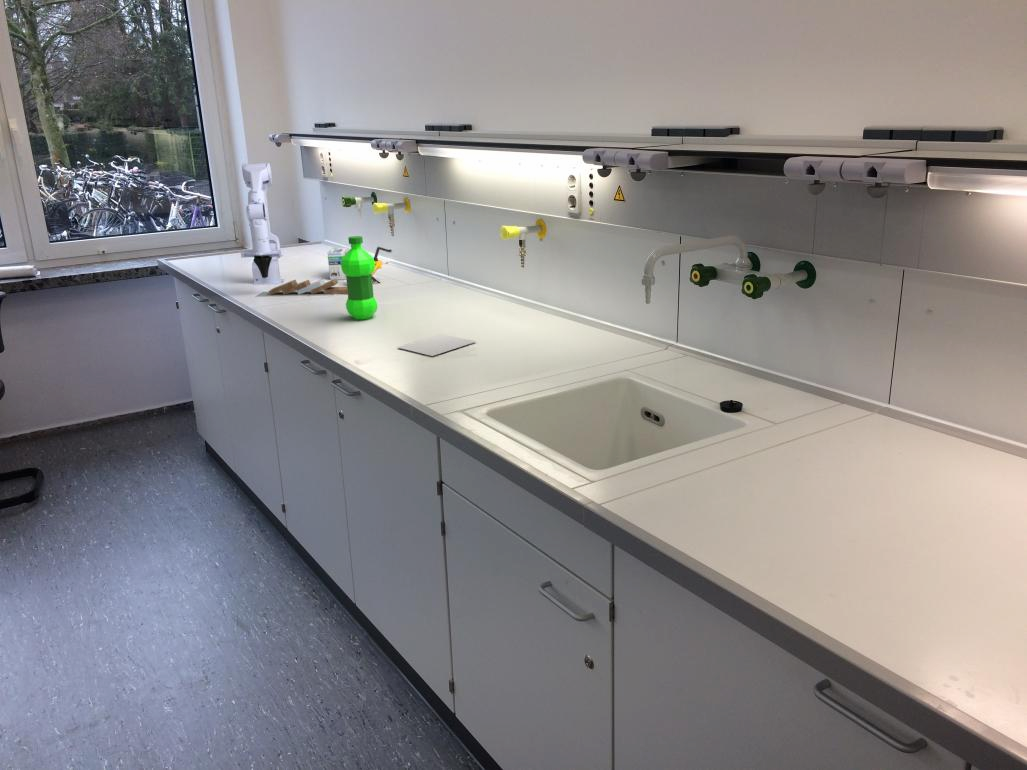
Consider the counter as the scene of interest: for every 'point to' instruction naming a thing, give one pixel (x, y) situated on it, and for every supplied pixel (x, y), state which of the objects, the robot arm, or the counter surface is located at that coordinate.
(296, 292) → the rubber mat
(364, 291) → the plastic bottle
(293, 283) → the domino
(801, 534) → the counter surface
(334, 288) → the domino
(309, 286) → the grey domino
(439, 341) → the grey flat square plate
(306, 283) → the domino
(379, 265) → the robot dog
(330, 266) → the light bulb box
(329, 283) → the domino
